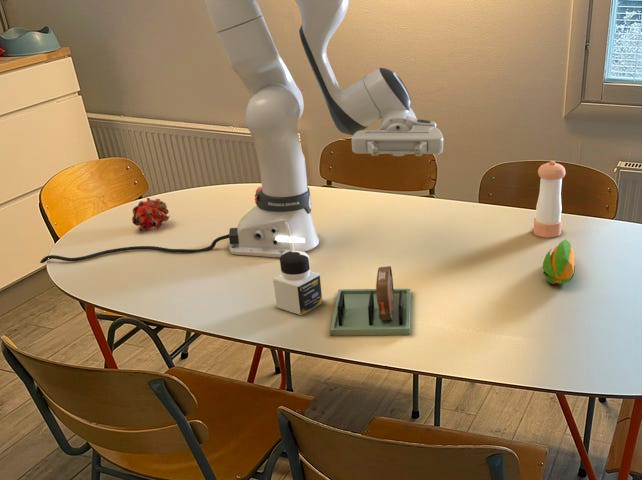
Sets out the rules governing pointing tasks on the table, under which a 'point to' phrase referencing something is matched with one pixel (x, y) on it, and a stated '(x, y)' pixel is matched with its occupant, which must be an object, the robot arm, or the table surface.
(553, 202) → the pepper shaker
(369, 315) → the drying rack
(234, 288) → the table surface
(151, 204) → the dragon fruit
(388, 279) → the tin
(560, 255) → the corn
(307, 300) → the medicine bottle
